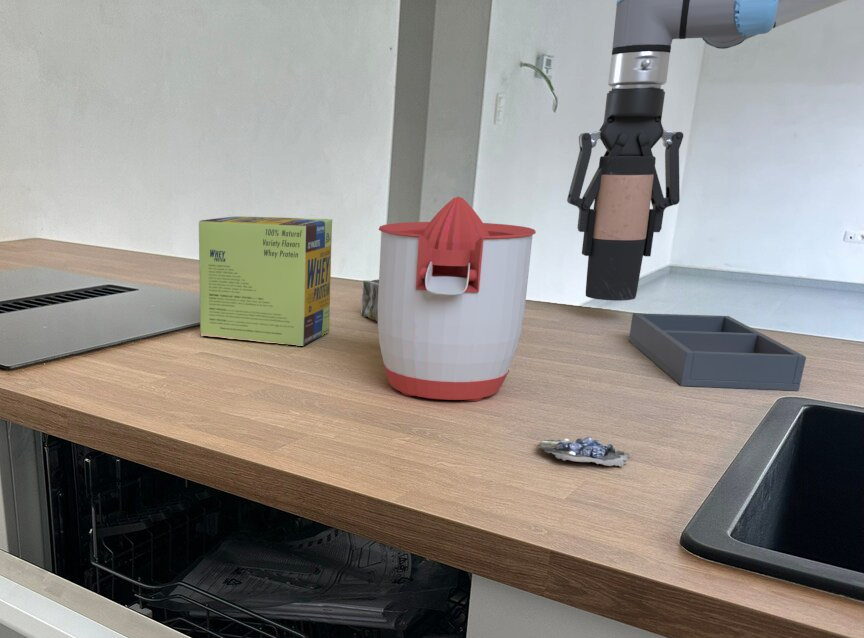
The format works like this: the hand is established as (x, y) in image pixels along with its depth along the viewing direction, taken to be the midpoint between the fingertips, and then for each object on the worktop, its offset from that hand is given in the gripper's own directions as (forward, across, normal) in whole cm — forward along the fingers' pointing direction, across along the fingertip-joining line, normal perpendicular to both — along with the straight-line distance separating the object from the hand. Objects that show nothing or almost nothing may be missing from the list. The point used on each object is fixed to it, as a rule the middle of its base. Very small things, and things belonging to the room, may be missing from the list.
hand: (615, 254), depth 127 cm
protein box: (+9, -49, -20) cm, 54 cm away
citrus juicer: (+10, -26, -45) cm, 53 cm away
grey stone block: (+10, -29, -10) cm, 32 cm away
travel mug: (+6, 0, 0) cm, 6 cm away
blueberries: (+10, -15, -64) cm, 66 cm away
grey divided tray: (+10, +6, -27) cm, 29 cm away
